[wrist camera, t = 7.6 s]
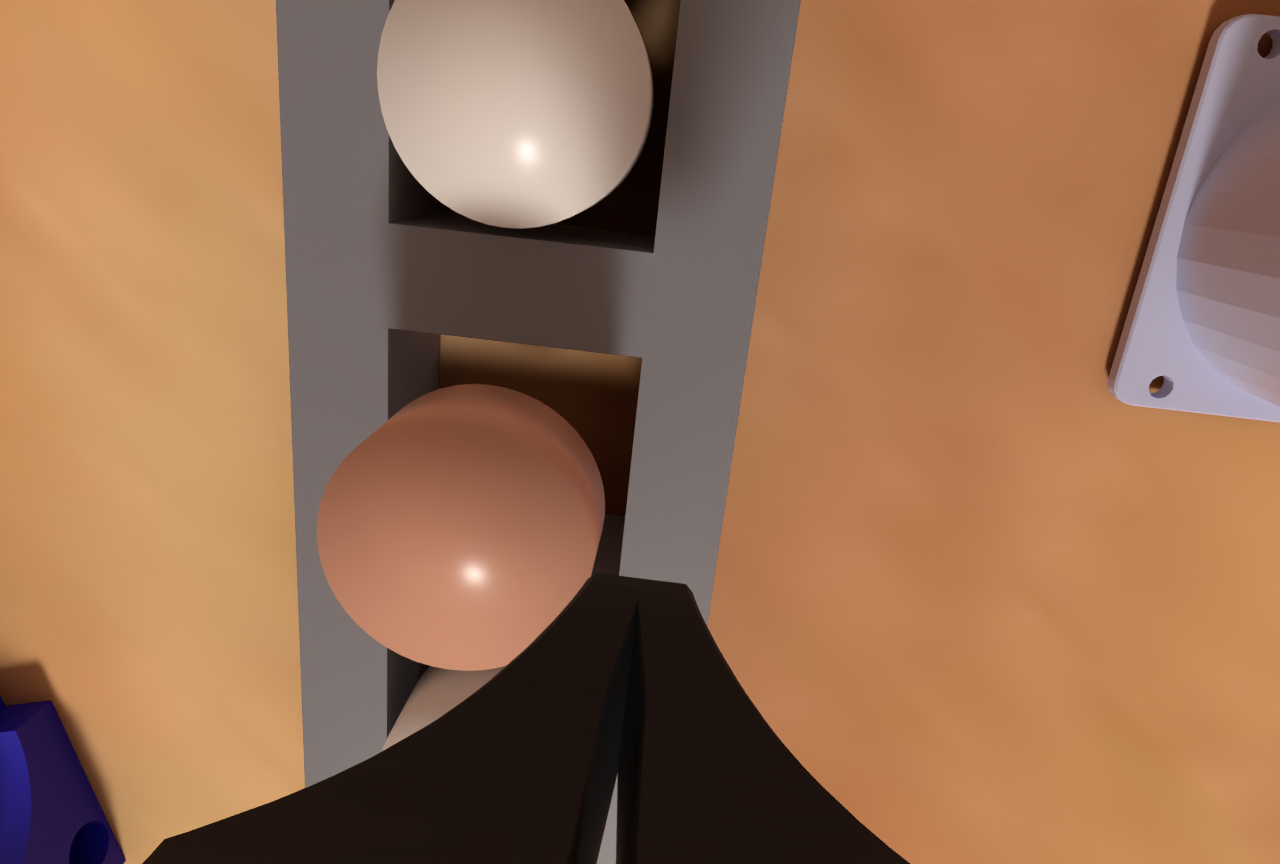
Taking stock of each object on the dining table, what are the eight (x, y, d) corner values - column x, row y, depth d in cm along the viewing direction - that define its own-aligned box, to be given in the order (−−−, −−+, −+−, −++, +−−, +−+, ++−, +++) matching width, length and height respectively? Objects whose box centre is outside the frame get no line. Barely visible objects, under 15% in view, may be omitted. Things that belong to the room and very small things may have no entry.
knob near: (671, 3, 17) (663, -54, 12) (648, 221, 18) (634, 242, 14) (461, -19, 17) (376, -84, 12) (455, 199, 18) (377, 213, 14)
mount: (800, -114, 16) (828, -183, 13) (668, 807, 24) (663, 913, 20) (353, -158, 16) (267, -239, 13) (361, 767, 24) (308, 865, 20)
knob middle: (628, 360, 17) (603, 437, 12) (609, 553, 18) (580, 686, 14) (416, 336, 17) (313, 402, 12) (413, 529, 18) (320, 653, 14)
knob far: (609, 596, 21) (587, 714, 17) (595, 733, 23) (570, 877, 18) (444, 575, 22) (377, 687, 17) (440, 714, 23) (378, 850, 18)
